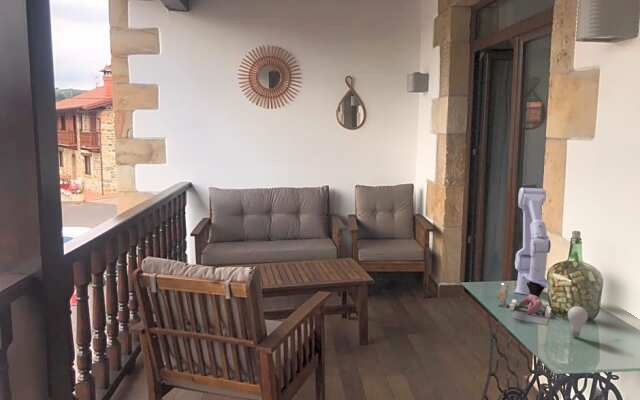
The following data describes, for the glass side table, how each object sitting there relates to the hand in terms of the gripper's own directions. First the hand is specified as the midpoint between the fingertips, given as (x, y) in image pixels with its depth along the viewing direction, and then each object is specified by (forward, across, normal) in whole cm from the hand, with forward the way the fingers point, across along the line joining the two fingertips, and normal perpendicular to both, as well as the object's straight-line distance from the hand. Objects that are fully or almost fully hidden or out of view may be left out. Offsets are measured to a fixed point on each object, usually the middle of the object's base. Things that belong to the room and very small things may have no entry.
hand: (534, 300), depth 206 cm
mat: (+2, -10, +11) cm, 15 cm away
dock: (+2, -3, +8) cm, 8 cm away
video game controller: (+2, -4, +6) cm, 8 cm away
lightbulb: (+2, -28, +9) cm, 29 cm away
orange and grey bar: (-5, 0, +16) cm, 17 cm away
